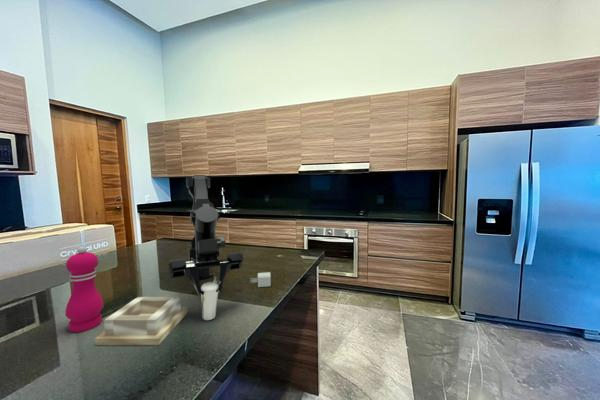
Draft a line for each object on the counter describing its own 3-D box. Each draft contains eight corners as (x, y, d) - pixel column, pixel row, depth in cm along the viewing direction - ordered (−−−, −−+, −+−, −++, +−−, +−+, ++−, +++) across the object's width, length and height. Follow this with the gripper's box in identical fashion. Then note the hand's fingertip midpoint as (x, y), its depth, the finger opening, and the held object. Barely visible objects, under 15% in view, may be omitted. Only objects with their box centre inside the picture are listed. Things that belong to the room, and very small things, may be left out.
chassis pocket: (136, 312, 69) (136, 294, 68) (187, 312, 69) (187, 294, 68) (95, 345, 55) (93, 323, 54) (158, 345, 55) (157, 323, 54)
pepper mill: (81, 318, 66) (77, 243, 65) (110, 316, 67) (107, 242, 65) (57, 334, 59) (52, 250, 58) (90, 332, 59) (86, 250, 58)
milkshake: (215, 323, 63) (216, 284, 62) (196, 320, 64) (196, 282, 64) (224, 314, 67) (224, 278, 67) (206, 311, 69) (206, 276, 68)
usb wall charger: (270, 287, 86) (270, 275, 86) (250, 288, 85) (250, 276, 85) (270, 282, 90) (270, 271, 90) (250, 283, 89) (250, 272, 89)
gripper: (168, 229, 64) (167, 287, 55) (241, 224, 72) (251, 274, 62) (170, 251, 71) (170, 306, 62) (236, 245, 79) (244, 292, 70)
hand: (210, 294), depth 64 cm, fingers closed on milkshake, 4 cm apart
